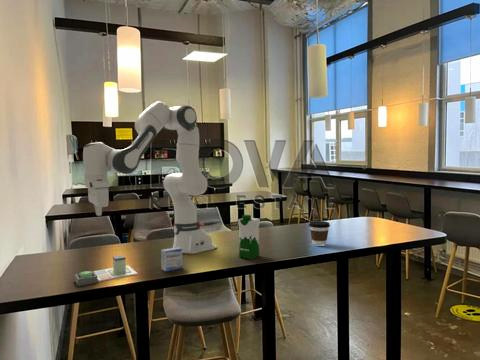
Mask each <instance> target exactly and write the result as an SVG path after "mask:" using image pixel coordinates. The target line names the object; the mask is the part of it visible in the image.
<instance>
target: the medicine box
mask: <svg viewBox="0 0 480 360" xmlns="http://www.w3.org/2000/svg"><path fill="white" fill-rule="evenodd" d="M160 263H161V270H163V271H164V272H171V271H176V270H180V269H183V253H182V249H181V248H179V247H174V248H173V247H169V248H164V249H163V248H162V249H160Z"/></svg>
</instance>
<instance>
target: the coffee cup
mask: <svg viewBox="0 0 480 360" xmlns="http://www.w3.org/2000/svg"><path fill="white" fill-rule="evenodd" d="M330 226H331V224H330V222H328V221H325V220H313V221H309V223H308V227H309V228H310V230H309V232H310V236H311V240H312V241H311V242H312V245H313V244H317V245H322V244H326V243H327V240H328V235H329V228H330Z"/></svg>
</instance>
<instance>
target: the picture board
mask: <svg viewBox="0 0 480 360" xmlns="http://www.w3.org/2000/svg"><path fill="white" fill-rule="evenodd" d="M93 271H94V272H95V273H96V275H97V277H98V282H99V283H100V282H104V281H109V280H110V281H111V280H115V279H116V280H117V279H120V278H126V277H131V276H137V275H138V272H137V271H135V269H133V268H132V267H131V266H130V265H128V264H127V265H126V272H121V273H115V272H114V271H113V267H110V268H105V269H100V270H93Z"/></svg>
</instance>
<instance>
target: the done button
mask: <svg viewBox="0 0 480 360" xmlns="http://www.w3.org/2000/svg"><path fill="white" fill-rule="evenodd" d="M79 274H80V278H85V277H91V276H92V271H90V270H85V271H82V272H79Z"/></svg>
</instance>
